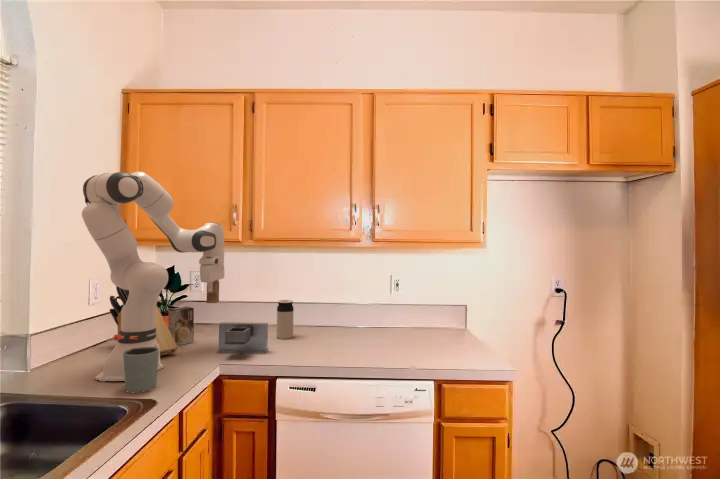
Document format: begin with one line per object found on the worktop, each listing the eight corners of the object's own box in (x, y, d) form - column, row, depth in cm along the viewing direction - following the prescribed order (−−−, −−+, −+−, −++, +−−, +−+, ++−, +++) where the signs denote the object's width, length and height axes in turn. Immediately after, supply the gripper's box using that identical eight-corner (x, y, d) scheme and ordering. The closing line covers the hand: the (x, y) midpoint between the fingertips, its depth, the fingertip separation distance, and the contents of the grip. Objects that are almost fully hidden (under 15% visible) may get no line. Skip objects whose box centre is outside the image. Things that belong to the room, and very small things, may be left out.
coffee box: (186, 340, 189) (187, 306, 190) (193, 342, 186) (194, 307, 186) (167, 344, 182) (167, 308, 182) (174, 346, 178) (175, 310, 178)
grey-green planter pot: (138, 396, 121) (138, 356, 121) (114, 391, 125) (115, 352, 125) (165, 385, 131) (166, 348, 131) (142, 380, 135) (143, 344, 135)
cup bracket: (259, 359, 160) (260, 329, 160) (209, 359, 160) (209, 328, 160) (268, 349, 175) (268, 322, 175) (222, 349, 175) (222, 321, 175)
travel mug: (277, 339, 193) (277, 302, 193) (275, 336, 201) (276, 299, 201) (293, 338, 195) (294, 301, 195) (292, 335, 203) (292, 299, 203)
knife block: (131, 342, 184) (133, 274, 185) (178, 354, 166) (179, 279, 166) (105, 347, 175) (107, 276, 175) (151, 361, 156) (153, 281, 156)
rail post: (215, 303, 175) (216, 282, 176) (206, 303, 175) (206, 282, 176) (218, 301, 179) (219, 281, 180) (209, 301, 179) (210, 281, 180)
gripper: (214, 258, 188) (214, 288, 188) (197, 260, 168) (196, 293, 167) (228, 258, 188) (227, 288, 188) (212, 260, 168) (211, 293, 167)
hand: (212, 290), depth 177 cm, fingers closed on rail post, 4 cm apart
